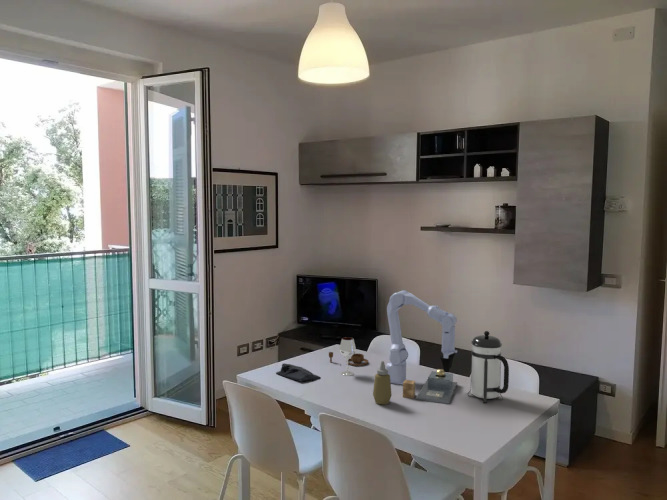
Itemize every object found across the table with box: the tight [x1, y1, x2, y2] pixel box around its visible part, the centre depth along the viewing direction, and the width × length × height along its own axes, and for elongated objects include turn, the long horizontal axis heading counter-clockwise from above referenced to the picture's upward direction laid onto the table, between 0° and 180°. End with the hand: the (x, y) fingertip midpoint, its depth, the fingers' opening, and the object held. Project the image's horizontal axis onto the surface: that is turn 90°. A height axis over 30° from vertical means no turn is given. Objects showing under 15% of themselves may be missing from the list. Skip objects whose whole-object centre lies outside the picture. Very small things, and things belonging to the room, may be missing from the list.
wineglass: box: [339, 336, 357, 377], centre depth 253 cm, size 8×8×18 cm
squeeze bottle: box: [372, 360, 393, 406], centre depth 215 cm, size 8×8×18 cm
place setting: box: [328, 351, 369, 367], centre depth 274 cm, size 18×20×6 cm
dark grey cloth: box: [275, 363, 321, 382], centre depth 250 cm, size 15×22×5 cm
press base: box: [415, 371, 458, 405], centre depth 228 cm, size 14×26×5 cm, turn 159°
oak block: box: [402, 379, 416, 399], centre depth 223 cm, size 4×4×6 cm
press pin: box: [436, 368, 446, 377], centre depth 235 cm, size 4×4×3 cm
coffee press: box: [467, 330, 510, 404], centre depth 219 cm, size 17×16×30 cm
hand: (447, 369), depth 229 cm, fingers open, 7 cm apart
